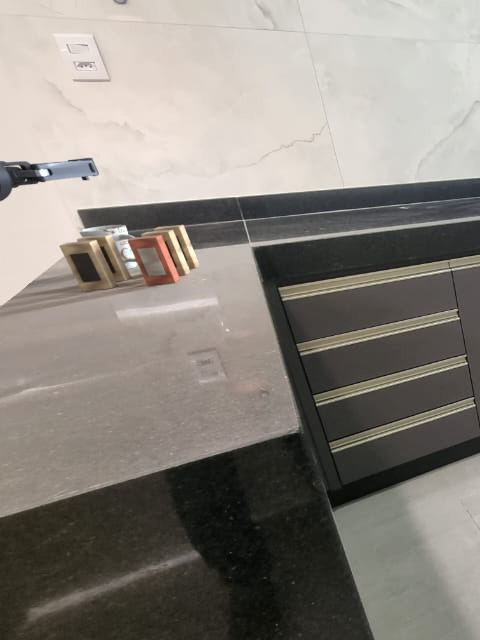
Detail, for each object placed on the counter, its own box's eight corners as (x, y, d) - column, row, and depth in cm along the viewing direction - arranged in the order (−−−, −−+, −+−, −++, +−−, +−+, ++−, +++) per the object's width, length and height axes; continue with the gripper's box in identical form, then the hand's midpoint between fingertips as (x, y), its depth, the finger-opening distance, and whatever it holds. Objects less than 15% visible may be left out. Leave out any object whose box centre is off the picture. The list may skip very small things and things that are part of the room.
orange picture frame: (147, 286, 115) (126, 240, 111) (153, 282, 118) (133, 237, 113) (175, 282, 117) (155, 237, 112) (180, 279, 119) (161, 234, 115)
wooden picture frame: (159, 278, 121) (140, 234, 117) (175, 268, 130) (157, 227, 125) (185, 275, 123) (167, 231, 118) (199, 265, 131) (183, 224, 127)
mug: (120, 264, 136) (102, 225, 131) (167, 263, 135) (150, 223, 131) (89, 273, 128) (68, 232, 124) (138, 271, 128) (119, 230, 123)
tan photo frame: (82, 292, 113) (58, 245, 109) (104, 280, 121) (83, 236, 117) (111, 288, 114) (89, 242, 110) (131, 277, 123) (111, 234, 119)
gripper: (-147, 215, 72) (-40, 197, 90) (84, 198, 81) (141, 184, 99) (-186, 157, 69) (-67, 150, 87) (59, 146, 78) (122, 141, 95)
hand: (44, 168), depth 93 cm, fingers open, 13 cm apart
